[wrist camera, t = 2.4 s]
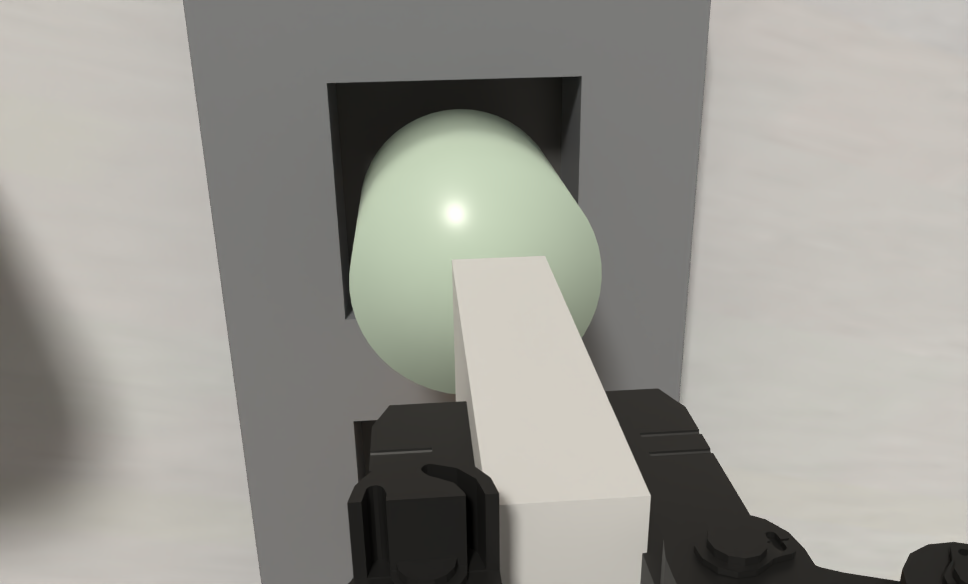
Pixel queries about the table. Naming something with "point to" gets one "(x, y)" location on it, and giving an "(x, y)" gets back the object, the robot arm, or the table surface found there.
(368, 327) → the light green piece
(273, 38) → the panel
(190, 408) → the table surface
